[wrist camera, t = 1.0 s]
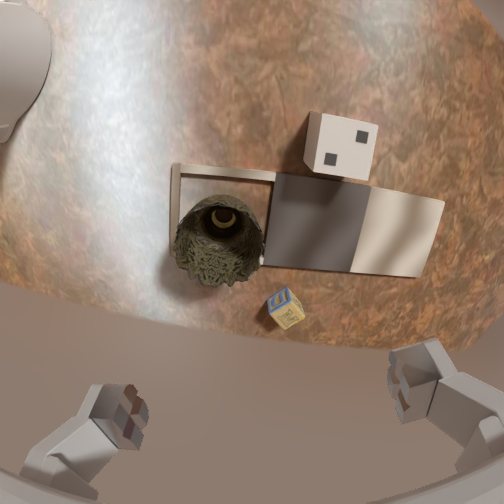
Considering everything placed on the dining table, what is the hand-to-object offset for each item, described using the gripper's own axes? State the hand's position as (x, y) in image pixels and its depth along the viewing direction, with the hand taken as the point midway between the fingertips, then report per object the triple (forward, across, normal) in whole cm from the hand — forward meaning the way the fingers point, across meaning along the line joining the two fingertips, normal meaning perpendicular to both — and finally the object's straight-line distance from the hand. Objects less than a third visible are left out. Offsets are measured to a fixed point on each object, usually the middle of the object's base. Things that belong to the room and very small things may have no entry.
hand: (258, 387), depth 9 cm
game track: (+25, -5, +5) cm, 26 cm away
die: (+25, -8, -3) cm, 26 cm away
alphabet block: (+26, 0, +14) cm, 29 cm away
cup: (+25, +4, +2) cm, 25 cm away
